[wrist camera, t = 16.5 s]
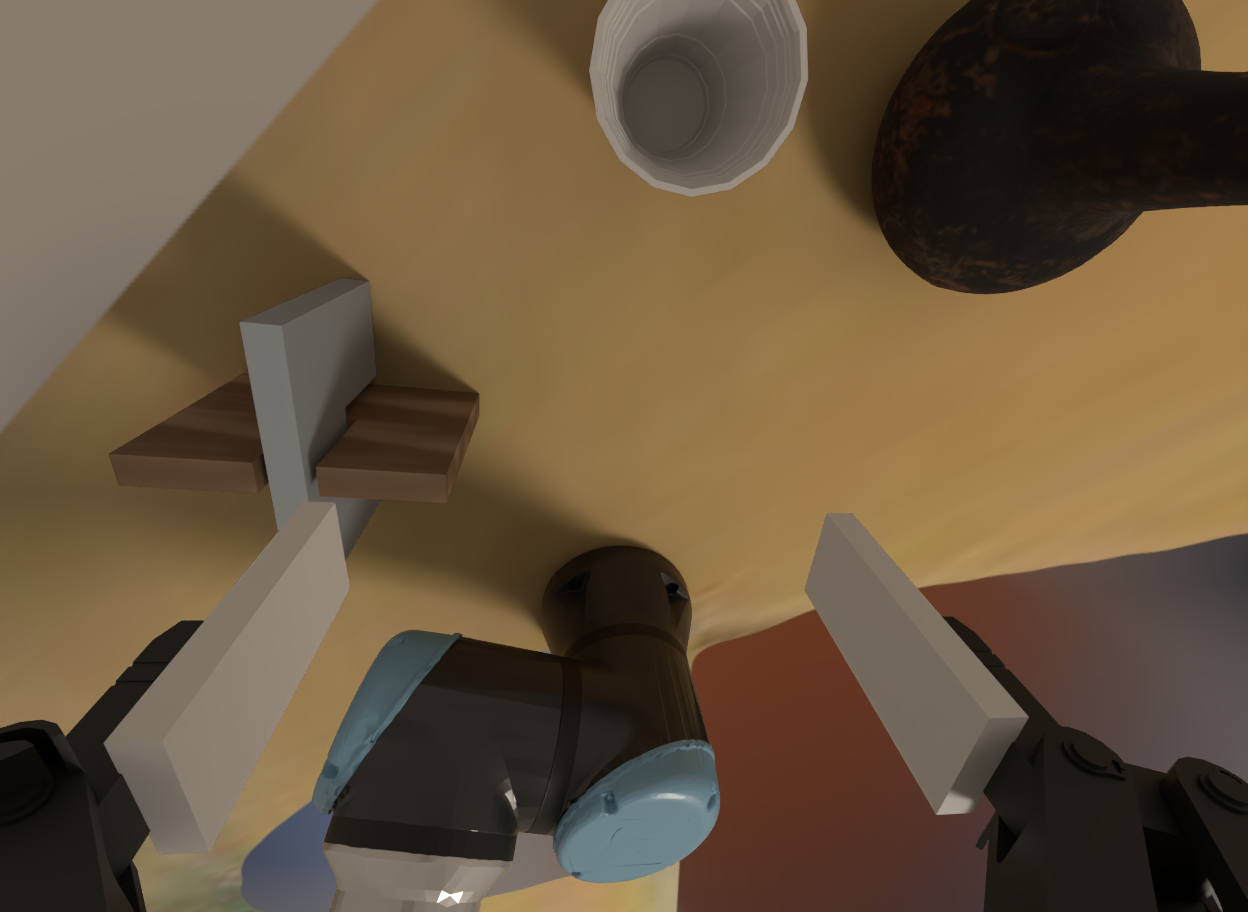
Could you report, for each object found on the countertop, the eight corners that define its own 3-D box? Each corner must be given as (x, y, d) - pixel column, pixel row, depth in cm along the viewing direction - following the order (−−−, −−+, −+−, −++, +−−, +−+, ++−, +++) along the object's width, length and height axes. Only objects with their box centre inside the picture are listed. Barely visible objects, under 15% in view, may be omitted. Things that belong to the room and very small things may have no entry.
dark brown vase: (1051, -67, 35) (2249, -679, 10) (1091, 197, 43) (1828, 221, 18) (799, 99, 38) (1249, -58, 13) (879, 319, 45) (1258, 487, 21)
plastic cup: (670, -43, 34) (718, -146, 23) (771, 109, 38) (852, 80, 27) (549, 99, 36) (542, 65, 26) (656, 226, 41) (688, 242, 30)
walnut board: (478, 416, 46) (446, 503, 33) (247, 398, 43) (118, 485, 31) (479, 393, 45) (445, 474, 33) (242, 374, 43) (109, 454, 30)
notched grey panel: (385, 491, 48) (322, 598, 36) (362, 489, 48) (290, 597, 36) (369, 281, 40) (281, 325, 28) (340, 278, 40) (238, 321, 28)
